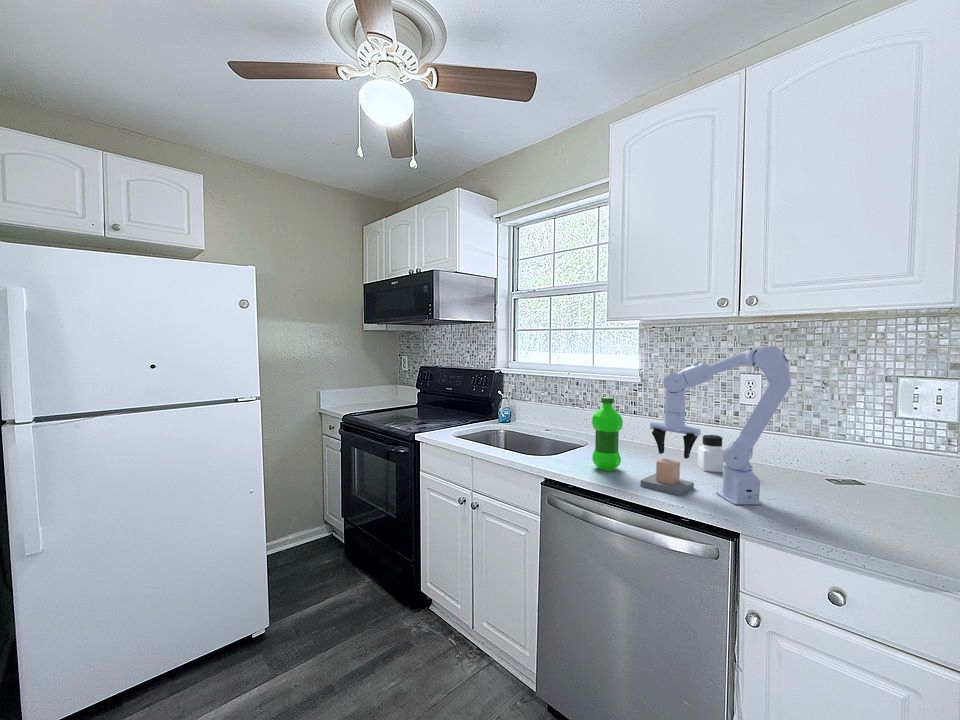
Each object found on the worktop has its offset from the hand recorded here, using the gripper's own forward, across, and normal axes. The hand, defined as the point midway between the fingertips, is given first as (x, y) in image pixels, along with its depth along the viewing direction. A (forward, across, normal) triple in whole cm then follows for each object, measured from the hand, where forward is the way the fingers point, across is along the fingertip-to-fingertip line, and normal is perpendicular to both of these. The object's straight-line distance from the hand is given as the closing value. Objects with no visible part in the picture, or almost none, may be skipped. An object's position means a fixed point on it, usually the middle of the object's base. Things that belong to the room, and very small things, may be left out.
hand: (673, 455), depth 134 cm
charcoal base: (+9, +1, +3) cm, 10 cm away
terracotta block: (+8, +1, +3) cm, 8 cm away
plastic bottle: (+10, +23, -1) cm, 25 cm away
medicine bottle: (+10, -2, -28) cm, 29 cm away
